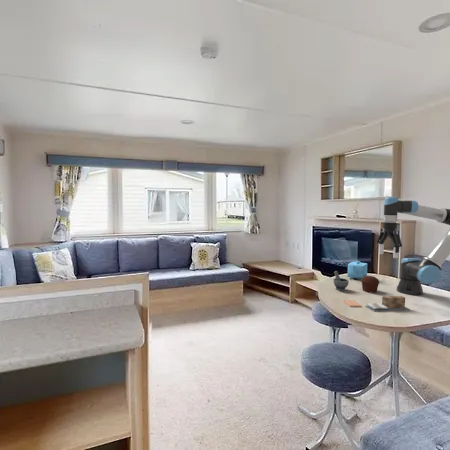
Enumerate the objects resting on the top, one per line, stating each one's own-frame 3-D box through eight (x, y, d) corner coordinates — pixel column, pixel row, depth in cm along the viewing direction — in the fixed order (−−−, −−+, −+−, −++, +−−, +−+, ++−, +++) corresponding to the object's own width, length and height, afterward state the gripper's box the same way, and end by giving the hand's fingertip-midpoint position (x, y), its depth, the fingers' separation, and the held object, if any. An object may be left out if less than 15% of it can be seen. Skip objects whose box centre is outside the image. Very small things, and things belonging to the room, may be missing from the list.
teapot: (353, 275, 256) (354, 258, 255) (367, 277, 250) (368, 260, 248) (344, 280, 239) (345, 262, 238) (360, 282, 232) (361, 264, 231)
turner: (398, 304, 182) (399, 294, 181) (407, 309, 175) (407, 298, 174) (366, 305, 179) (367, 295, 178) (374, 310, 172) (375, 299, 172)
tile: (354, 300, 188) (343, 300, 187) (361, 305, 179) (349, 305, 178) (354, 302, 188) (342, 302, 187) (361, 307, 179) (349, 307, 178)
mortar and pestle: (351, 290, 211) (352, 273, 210) (340, 292, 207) (341, 274, 206) (338, 286, 221) (339, 269, 220) (328, 287, 217) (329, 270, 216)
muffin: (360, 292, 208) (361, 277, 208) (359, 287, 219) (360, 273, 218) (380, 294, 205) (381, 279, 204) (378, 289, 215) (378, 275, 214)
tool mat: (400, 305, 183) (400, 304, 183) (410, 310, 175) (410, 309, 175) (365, 306, 179) (365, 305, 179) (373, 311, 171) (374, 310, 171)
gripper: (372, 220, 205) (370, 252, 206) (398, 223, 180) (396, 259, 182) (382, 220, 206) (380, 252, 208) (410, 223, 181) (408, 259, 183)
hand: (388, 256), depth 195 cm, fingers open, 13 cm apart
